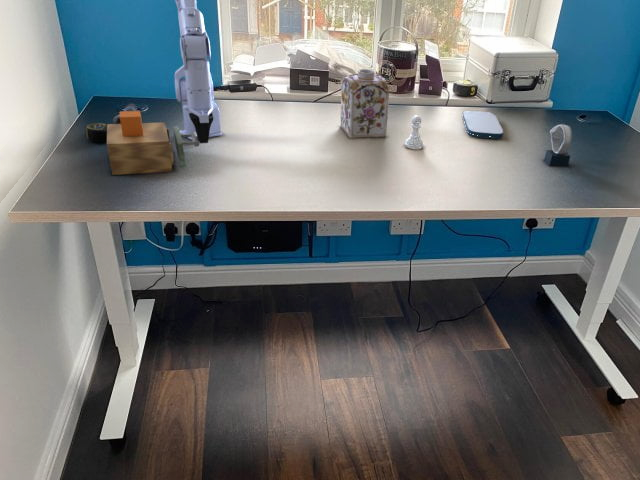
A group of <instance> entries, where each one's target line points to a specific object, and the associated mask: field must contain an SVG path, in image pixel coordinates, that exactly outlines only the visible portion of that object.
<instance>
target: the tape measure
mask: <svg viewBox="0 0 640 480" xmlns="http://www.w3.org/2000/svg"><path fill="white" fill-rule="evenodd" d="M107 124H108V123H102V122H96V123H89V124H87V125H86V126H85V129H84V132H85V133H84V134H85V137H86V139H88V140H89V141H91V142H97V143H99V142H107Z"/></svg>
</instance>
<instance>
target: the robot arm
mask: <svg viewBox="0 0 640 480" xmlns="http://www.w3.org/2000/svg"><path fill="white" fill-rule="evenodd" d="M174 2H175V4H176V7H177V18H178V25H179V33H180V34H179V35H180V37H179V48H180V55H181V60H182V65H181V66H180V67H179V68H178V69H176V70H175V71H174V74H173V75H174V89H175V97H176V101H177V102H178V103H181V107H182V117H183V126H184V129H183V130H182V129H181V130H179V131H180V134H191V133H192V132H195V133H196V134H197V137H198V140H199V144H208V143H209V140H210V138H214V137H218V136H222V135H223V132H222V129H221V114H220V113H221V112H220V109H219V106H218V104H217V103H216V101H214V99H215V93H214V92H215V90H214V82H213V80H212V73H211V72H210V61H211V58H212V57H211V55H212V54H211V43H210V39H209V36H208V33H207V31H206V28H205V27H206V26H205V21H204V15H203V13H202V12H201V10H199V9H198V7H197V0H174ZM183 77H184V78H183ZM187 139H189V140H191V141H193V140H192V137H187Z"/></svg>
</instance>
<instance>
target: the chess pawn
mask: <svg viewBox="0 0 640 480" xmlns="http://www.w3.org/2000/svg"><path fill="white" fill-rule="evenodd" d="M421 124H422V118H421V117H420V116H419V115H414V116H413V117H411V125H410V127H411V128H412V131H411V133H410V134H409V137H408V138H407V139H405V145H404V146H405V147H406V148H408V149H410V150H420V149H422V148H423V142H424V141H423V140H422V139H421V138H420V137H421V135H420V134H419V129H420V128H422V126H421Z"/></svg>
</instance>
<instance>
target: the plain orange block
mask: <svg viewBox="0 0 640 480" xmlns="http://www.w3.org/2000/svg"><path fill="white" fill-rule="evenodd" d="M119 115H120V122H121V128H122V134H123V136H141V135H143V128H142V123H143V122H142V121H143V120H142V114H141V110H137V111H123V110H122V111H119Z"/></svg>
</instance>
